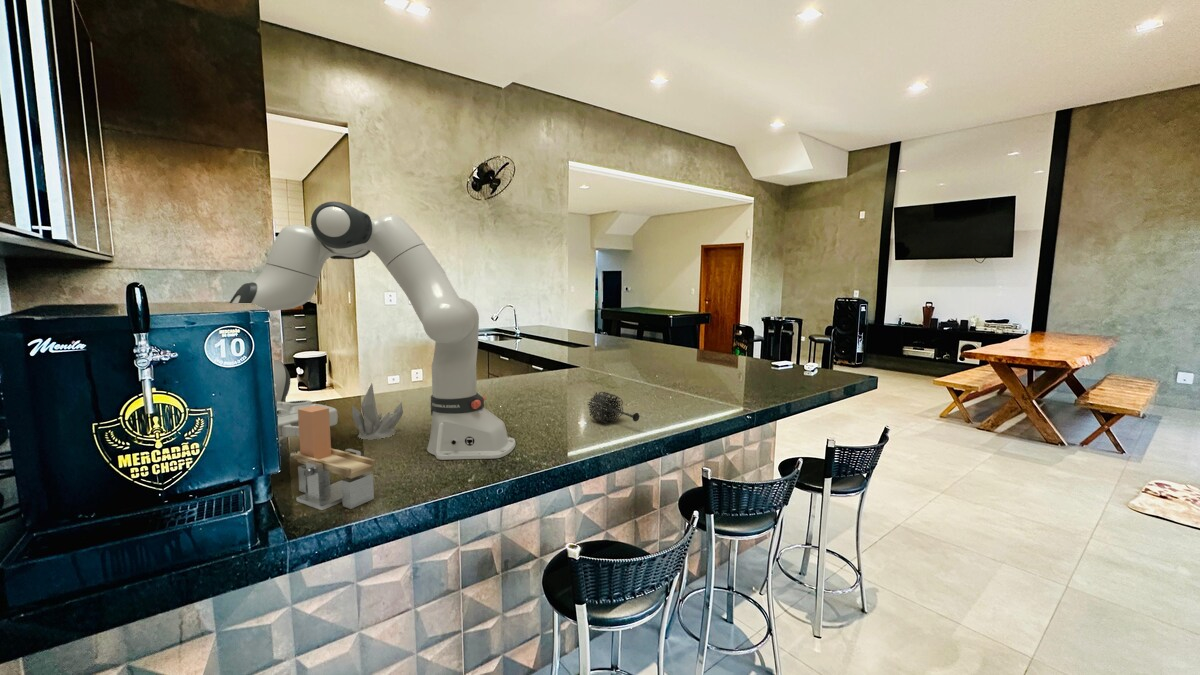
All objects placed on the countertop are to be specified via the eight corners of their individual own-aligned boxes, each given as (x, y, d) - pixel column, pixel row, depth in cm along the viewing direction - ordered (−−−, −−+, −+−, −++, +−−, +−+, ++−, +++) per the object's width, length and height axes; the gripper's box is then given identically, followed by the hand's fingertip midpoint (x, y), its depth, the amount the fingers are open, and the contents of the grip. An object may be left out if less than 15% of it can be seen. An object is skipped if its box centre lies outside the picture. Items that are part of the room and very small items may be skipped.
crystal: (406, 435, 135) (405, 383, 133) (354, 443, 128) (351, 388, 126) (401, 426, 143) (399, 377, 142) (351, 433, 136) (349, 381, 135)
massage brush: (624, 435, 137) (624, 403, 136) (578, 419, 154) (578, 390, 153) (647, 430, 143) (648, 399, 142) (600, 414, 160) (601, 386, 159)
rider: (300, 456, 98) (297, 409, 97) (317, 451, 101) (315, 405, 100) (314, 460, 96) (311, 412, 95) (331, 455, 99) (329, 408, 98)
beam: (293, 463, 97) (293, 454, 97) (323, 454, 102) (323, 445, 102) (347, 480, 89) (346, 469, 89) (376, 469, 94) (376, 459, 94)
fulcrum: (282, 497, 95) (280, 458, 94) (337, 477, 105) (335, 442, 104) (334, 516, 87) (332, 474, 87) (387, 492, 97) (386, 455, 97)
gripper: (214, 419, 96) (251, 429, 89) (314, 398, 114) (352, 405, 107) (216, 449, 96) (253, 461, 90) (316, 424, 114) (353, 432, 108)
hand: (308, 430), depth 99 cm, fingers closed
